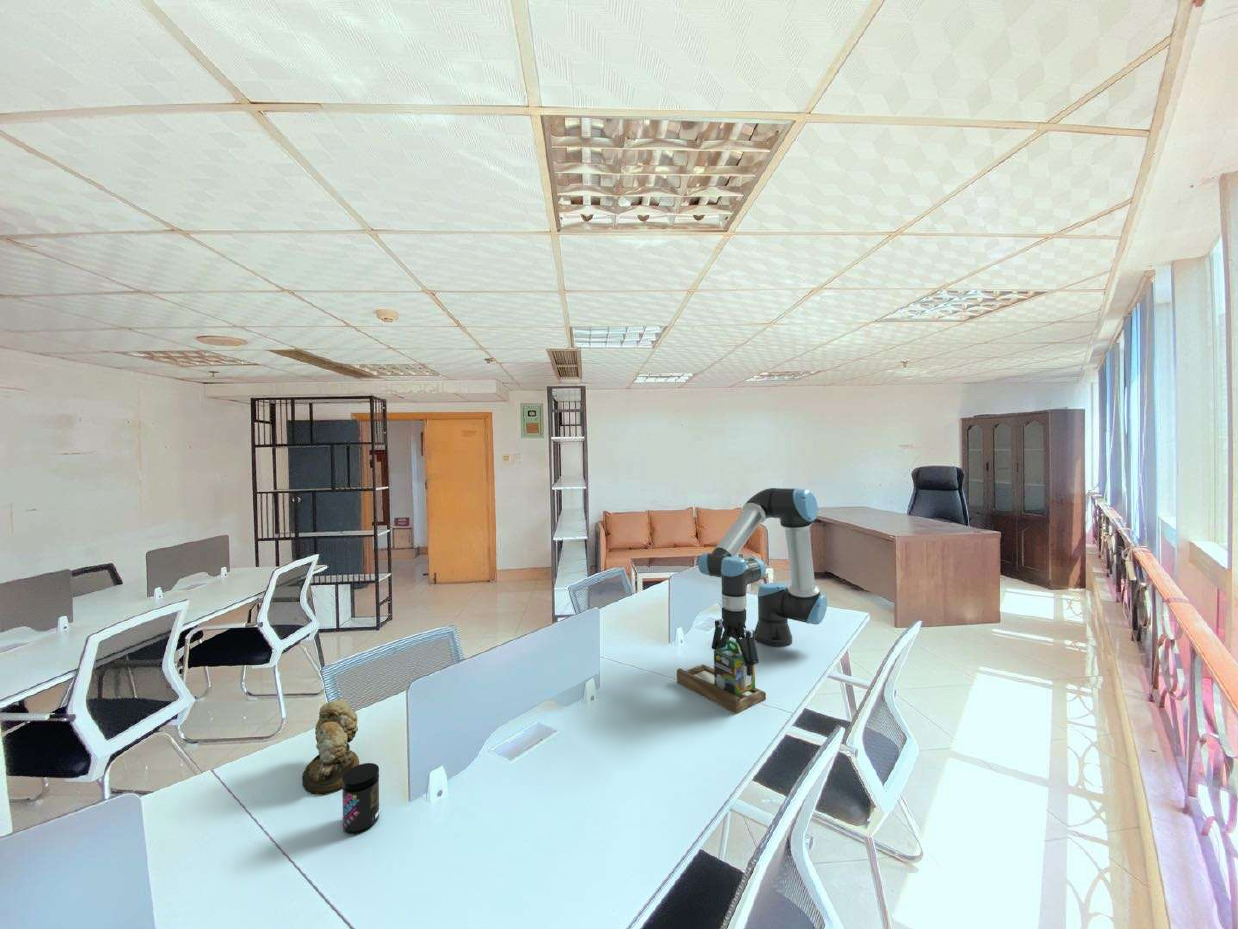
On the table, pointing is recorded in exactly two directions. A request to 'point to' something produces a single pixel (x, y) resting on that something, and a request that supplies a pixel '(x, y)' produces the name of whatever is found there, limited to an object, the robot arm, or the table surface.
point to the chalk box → (731, 669)
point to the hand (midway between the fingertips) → (734, 679)
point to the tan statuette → (332, 748)
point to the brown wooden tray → (717, 689)
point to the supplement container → (360, 798)
